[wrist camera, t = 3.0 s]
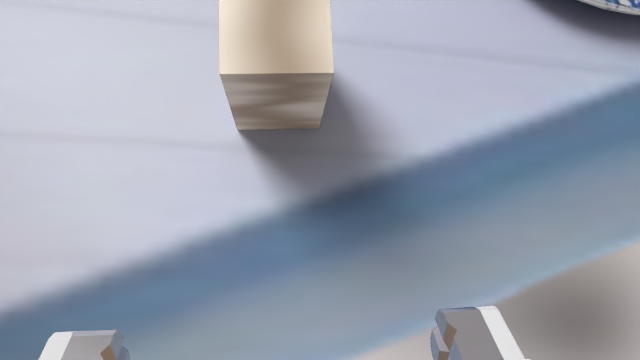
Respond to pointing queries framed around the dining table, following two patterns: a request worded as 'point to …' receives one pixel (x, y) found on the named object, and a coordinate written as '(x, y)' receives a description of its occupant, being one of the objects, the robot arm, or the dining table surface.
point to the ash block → (276, 61)
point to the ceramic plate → (617, 5)
